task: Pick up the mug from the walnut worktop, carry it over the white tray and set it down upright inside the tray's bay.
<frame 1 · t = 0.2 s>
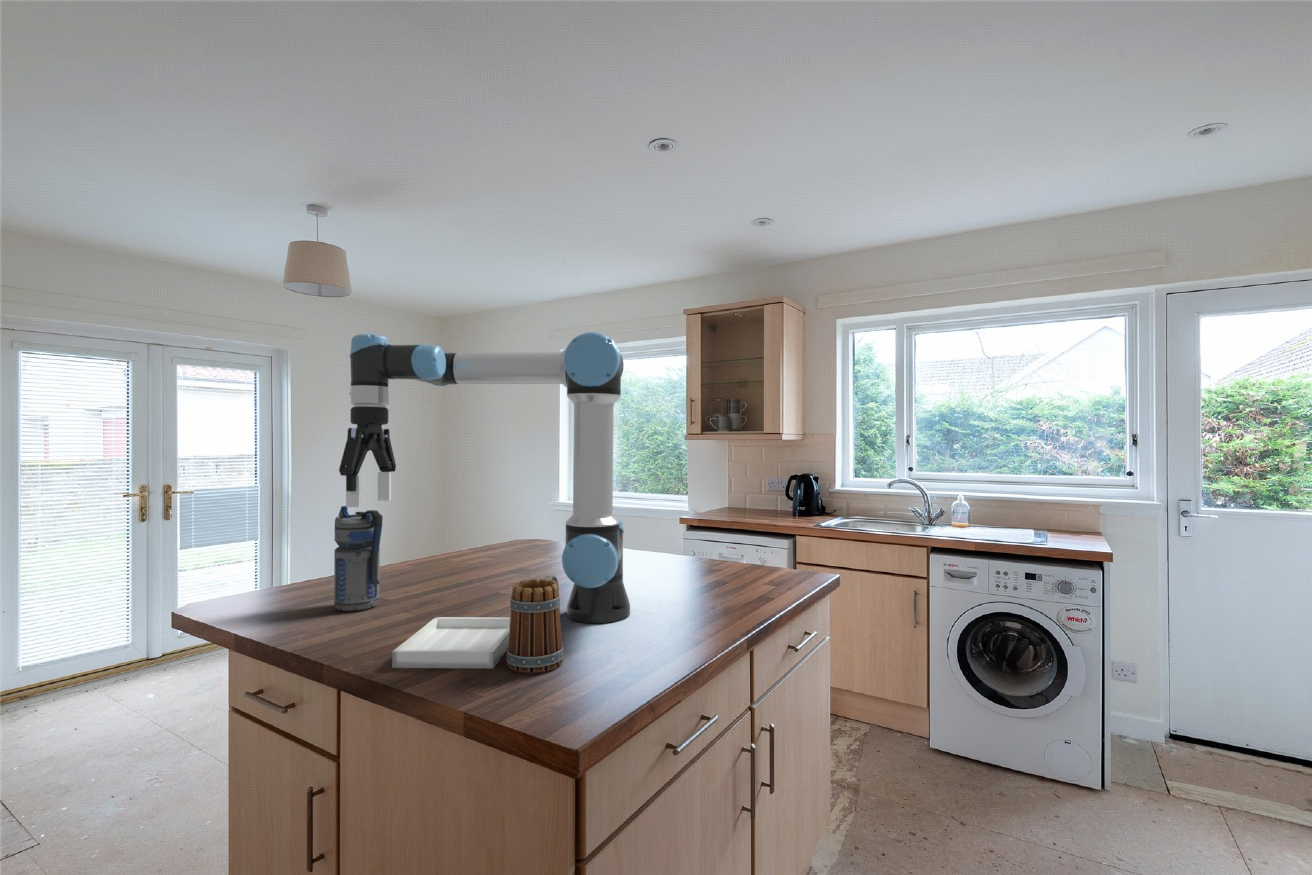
hand: (369, 503, 134), 28 cm above the counter, fingers open, 13 cm apart
mug: (540, 660, 117), on the counter
white tray: (461, 647, 123), on the counter
grey blue grenade canister: (359, 608, 153), on the counter
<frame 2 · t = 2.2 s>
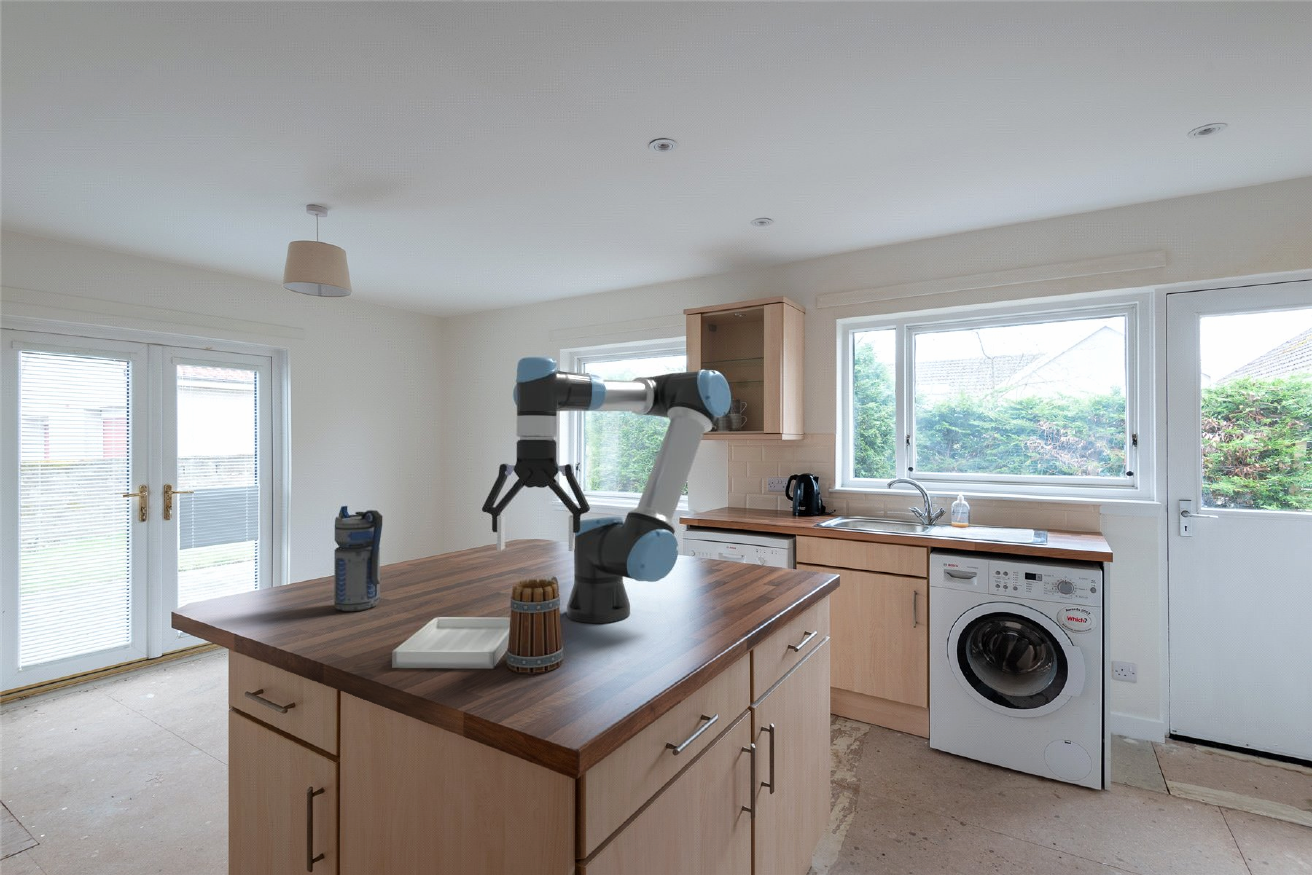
hand: (536, 549, 117), 21 cm above the counter, fingers open, 13 cm apart
nothing on the counter moved.
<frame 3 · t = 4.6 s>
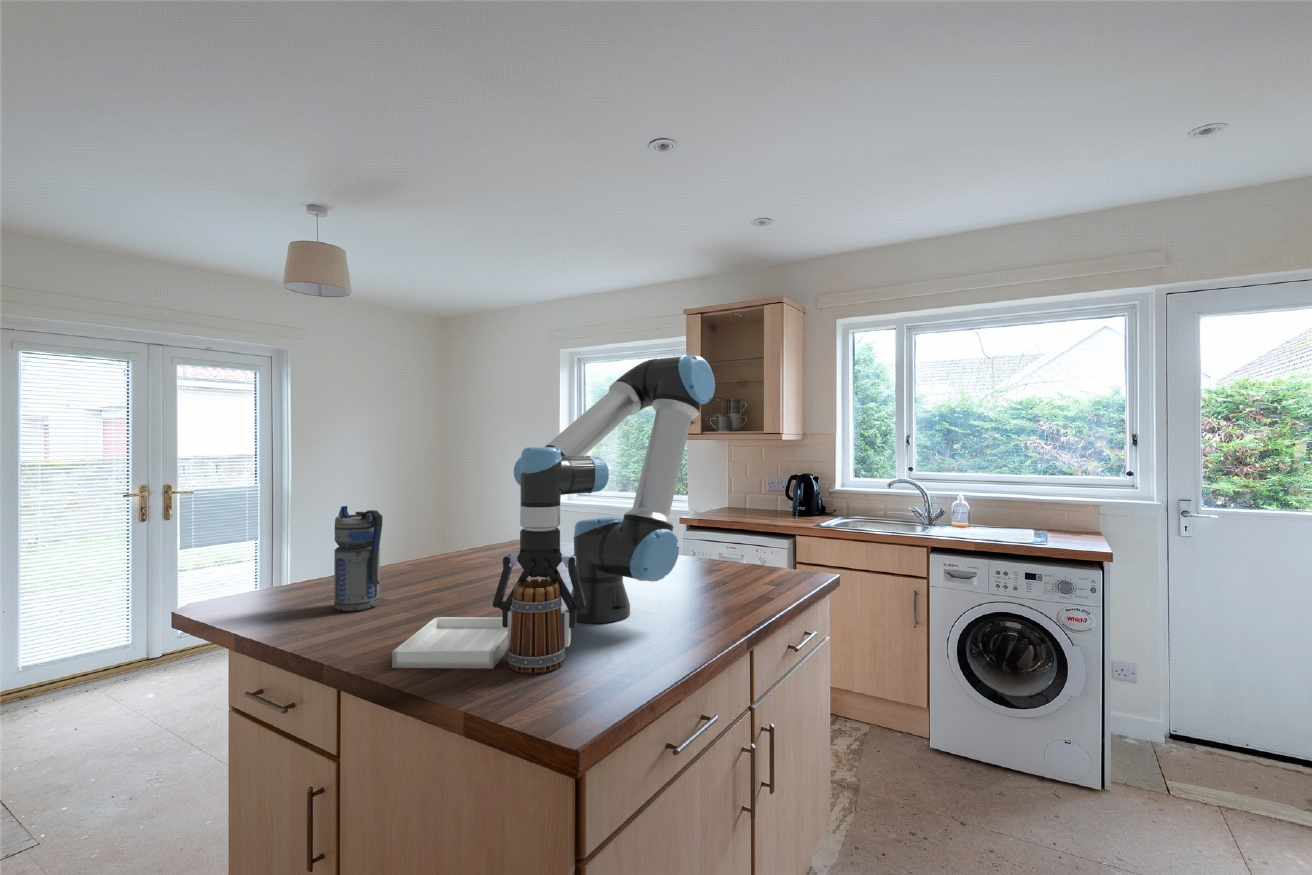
hand: (539, 644, 117), 3 cm above the counter, fingers closed on mug, 10 cm apart
mug: (541, 660, 117), on the counter, touching gripper
everything else where it was.
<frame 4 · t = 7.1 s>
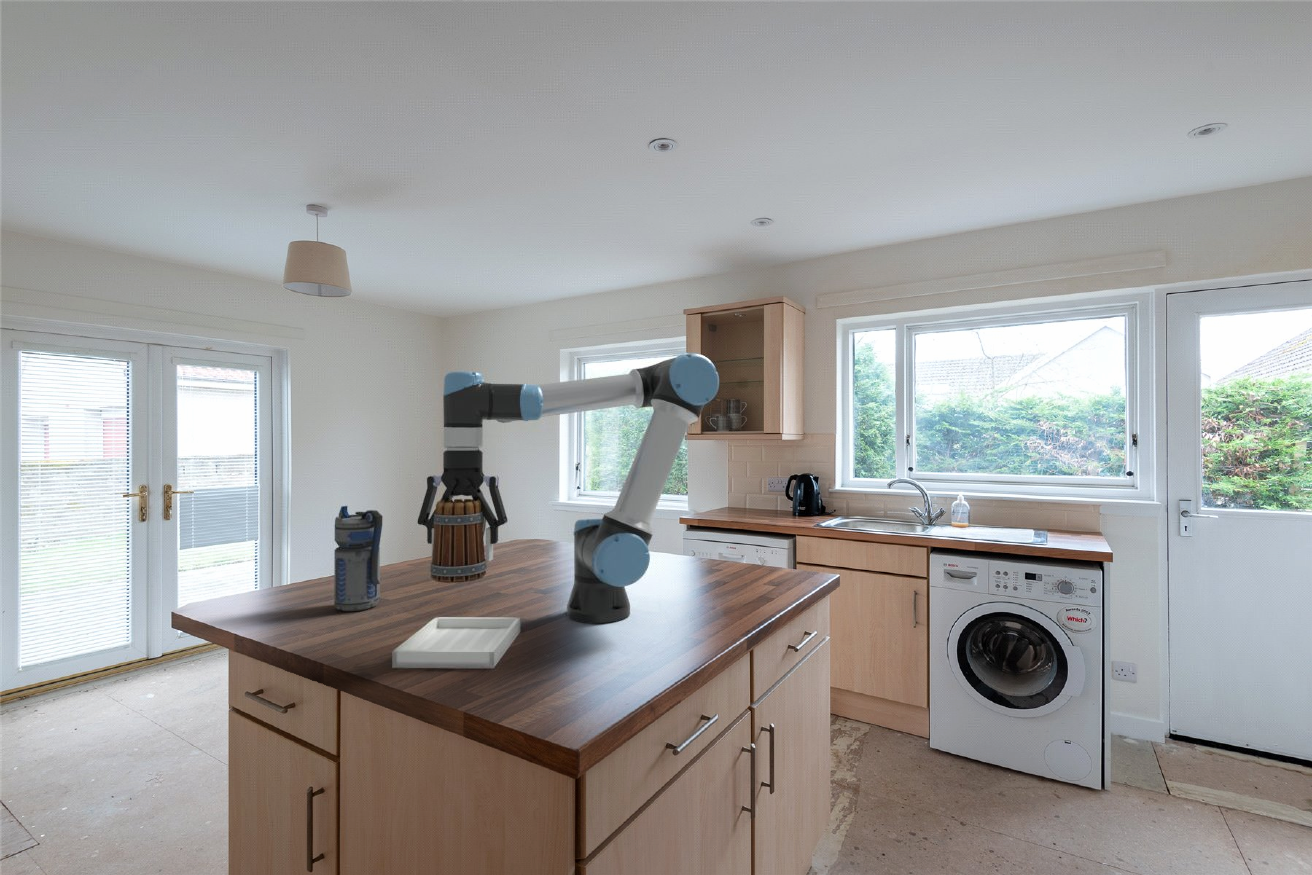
hand: (462, 560, 123), 18 cm above the counter, fingers closed on mug, 10 cm apart
mug: (465, 575, 123), point 15 cm above the counter, touching gripper
everything else where it was.
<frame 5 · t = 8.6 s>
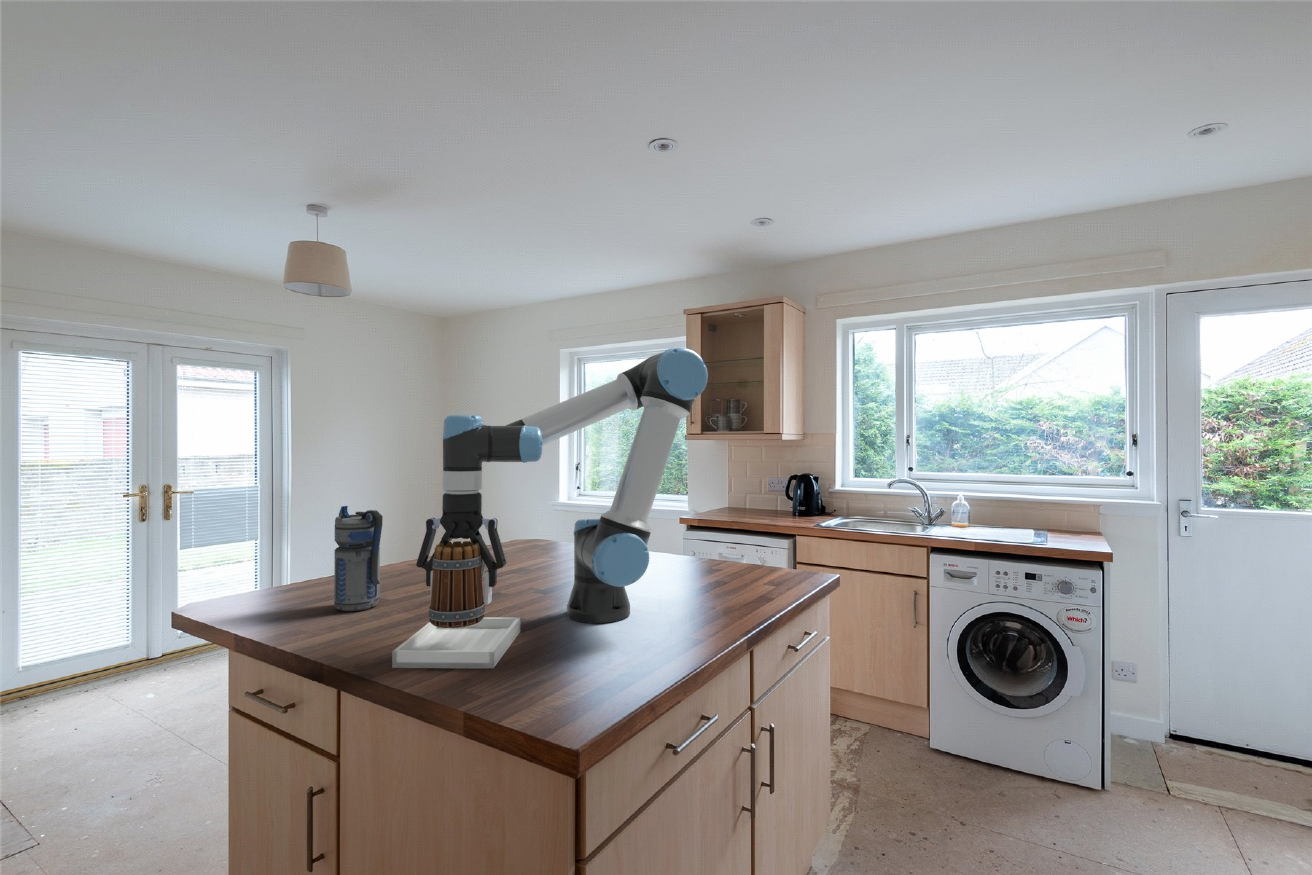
hand: (461, 602, 123), 9 cm above the counter, fingers closed on mug, 10 cm apart
mug: (463, 617, 123), point 6 cm above the counter, touching gripper
everything else where it was.
when the fingers open (6 cm above the counter, at t = 9.8 s): mug drops 2 cm, resting on white tray.
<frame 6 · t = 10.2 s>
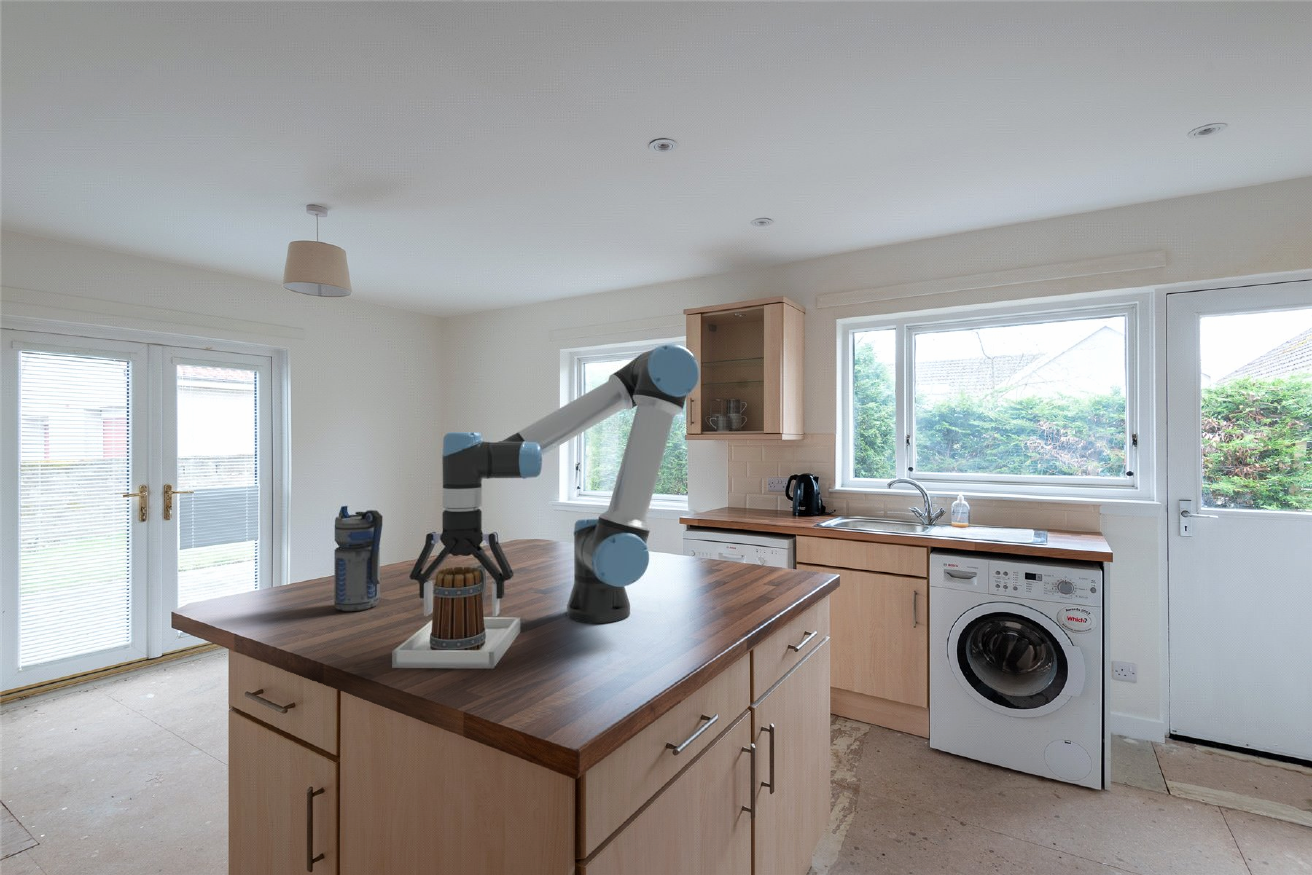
hand: (462, 614, 123), 7 cm above the counter, fingers open, 13 cm apart
mug: (464, 643, 123), point 1 cm above the counter, touching white tray
everything else where it was.
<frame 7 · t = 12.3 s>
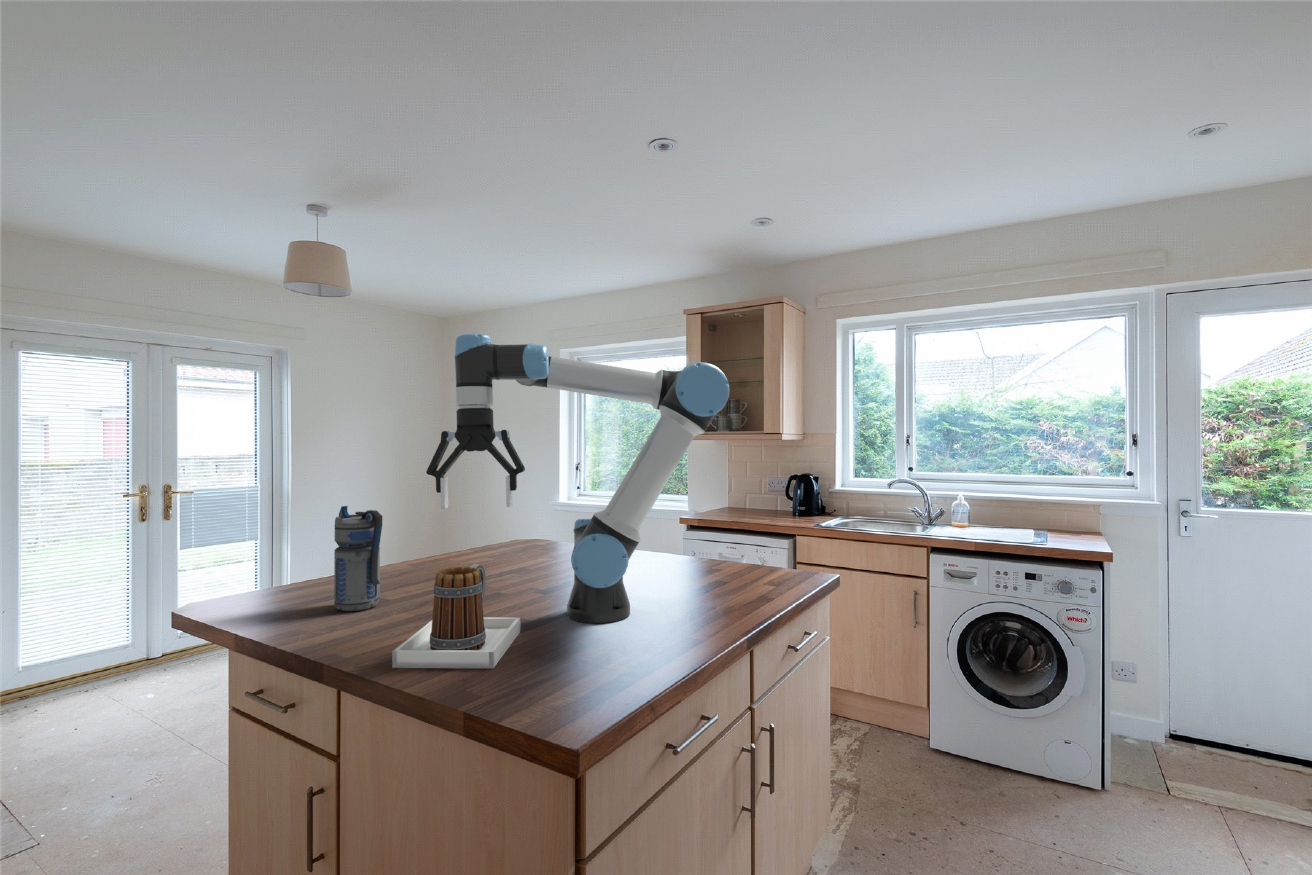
hand: (477, 507, 131), 27 cm above the counter, fingers open, 13 cm apart
nothing on the counter moved.
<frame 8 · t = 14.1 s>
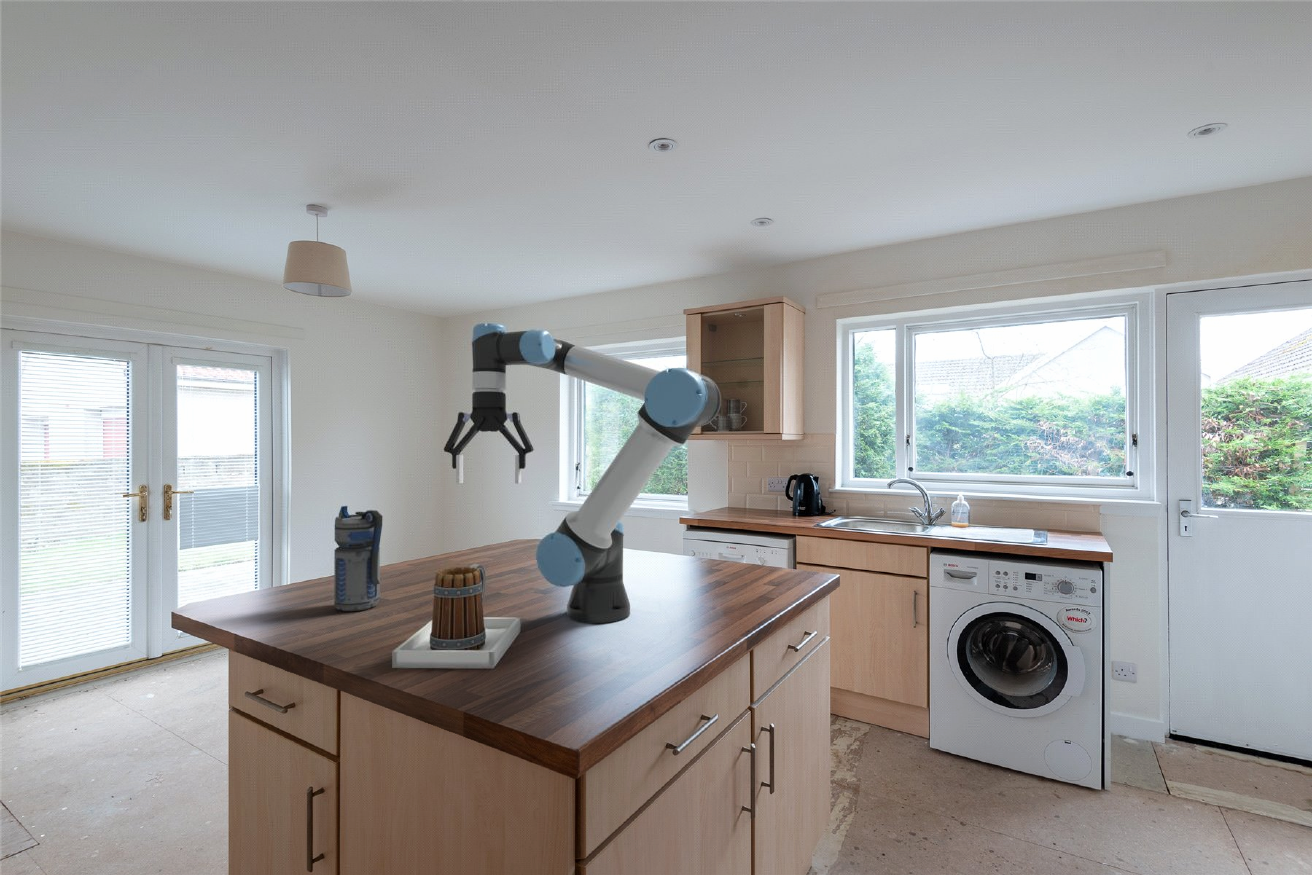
hand: (488, 483, 142), 32 cm above the counter, fingers open, 13 cm apart
nothing on the counter moved.
at the end: mug inside the target area on the white tray (0.5 cm from its centre), point 0.8 cm above the white tray's base; mug tilted 0°; mug touching white tray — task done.
